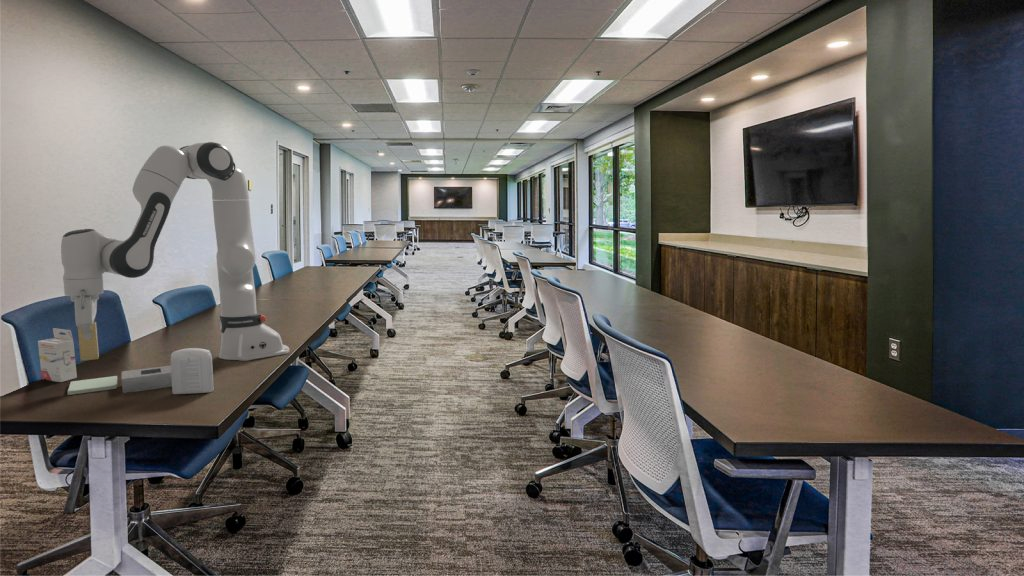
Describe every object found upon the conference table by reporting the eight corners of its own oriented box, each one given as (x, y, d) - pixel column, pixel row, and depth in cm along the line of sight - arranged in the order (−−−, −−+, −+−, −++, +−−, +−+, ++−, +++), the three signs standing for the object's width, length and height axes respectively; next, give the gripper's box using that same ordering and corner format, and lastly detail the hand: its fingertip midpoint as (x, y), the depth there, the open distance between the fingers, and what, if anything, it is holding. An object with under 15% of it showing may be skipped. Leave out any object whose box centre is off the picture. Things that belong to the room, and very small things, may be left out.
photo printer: (215, 388, 165) (213, 345, 164) (211, 393, 161) (208, 349, 160) (175, 391, 163) (172, 347, 161) (170, 396, 159) (166, 351, 157)
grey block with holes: (194, 375, 178) (193, 362, 178) (196, 382, 171) (195, 369, 170) (123, 385, 169) (121, 371, 168) (122, 393, 161) (121, 378, 161)
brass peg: (98, 356, 169) (96, 321, 167) (98, 359, 165) (95, 323, 164) (81, 357, 166) (78, 322, 165) (80, 360, 163) (77, 325, 162)
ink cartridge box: (40, 379, 174) (35, 330, 172) (58, 375, 178) (53, 327, 177) (60, 382, 171) (55, 332, 169) (78, 378, 176) (73, 329, 174)
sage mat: (117, 379, 175) (117, 375, 174) (116, 388, 165) (116, 385, 165) (71, 384, 169) (70, 381, 169) (67, 395, 160) (67, 391, 159)
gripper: (96, 291, 156) (100, 342, 158) (99, 283, 173) (103, 329, 175) (66, 293, 153) (71, 345, 155) (72, 284, 170) (77, 331, 172)
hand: (88, 337), depth 165 cm, fingers closed on brass peg, 4 cm apart
